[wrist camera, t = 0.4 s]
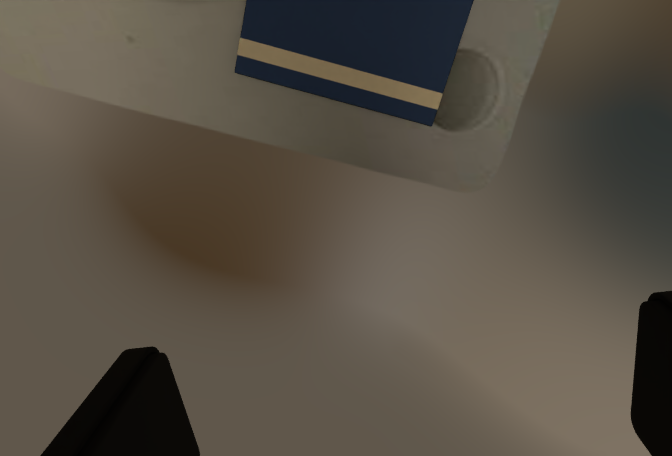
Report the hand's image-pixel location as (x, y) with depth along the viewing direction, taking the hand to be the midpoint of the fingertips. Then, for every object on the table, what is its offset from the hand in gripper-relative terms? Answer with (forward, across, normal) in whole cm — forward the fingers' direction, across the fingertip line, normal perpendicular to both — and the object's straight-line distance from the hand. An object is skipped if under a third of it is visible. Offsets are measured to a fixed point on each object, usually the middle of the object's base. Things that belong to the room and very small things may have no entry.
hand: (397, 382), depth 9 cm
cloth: (+35, 0, -10) cm, 36 cm away
